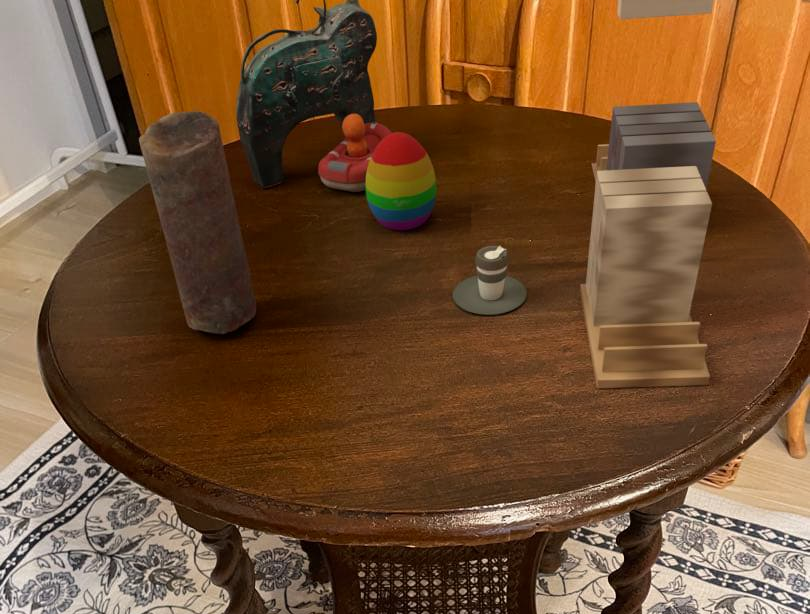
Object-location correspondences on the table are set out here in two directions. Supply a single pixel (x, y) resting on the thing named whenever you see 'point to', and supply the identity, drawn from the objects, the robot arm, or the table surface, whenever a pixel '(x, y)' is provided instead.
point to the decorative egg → (400, 182)
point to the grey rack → (657, 139)
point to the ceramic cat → (304, 83)
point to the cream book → (662, 8)
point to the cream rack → (645, 277)
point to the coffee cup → (490, 285)
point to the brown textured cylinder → (199, 220)
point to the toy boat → (352, 155)
